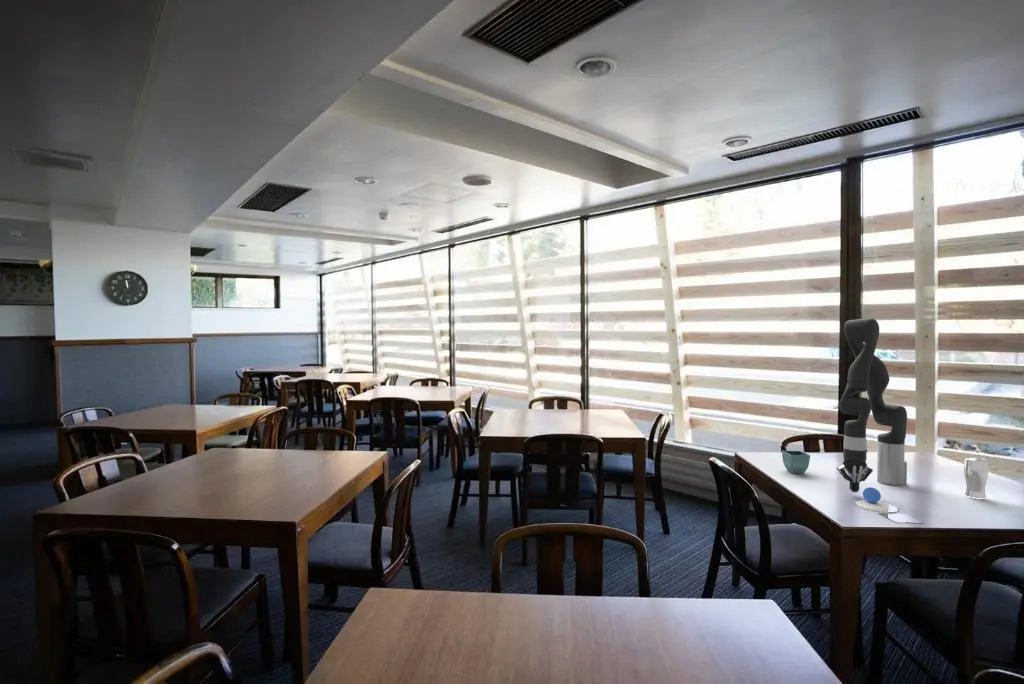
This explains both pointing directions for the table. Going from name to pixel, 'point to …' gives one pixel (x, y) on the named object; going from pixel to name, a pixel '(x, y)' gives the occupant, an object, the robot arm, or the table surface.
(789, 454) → the flower pot
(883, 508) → the disc
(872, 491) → the ball
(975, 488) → the beer glass
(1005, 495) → the table surface
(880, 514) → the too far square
